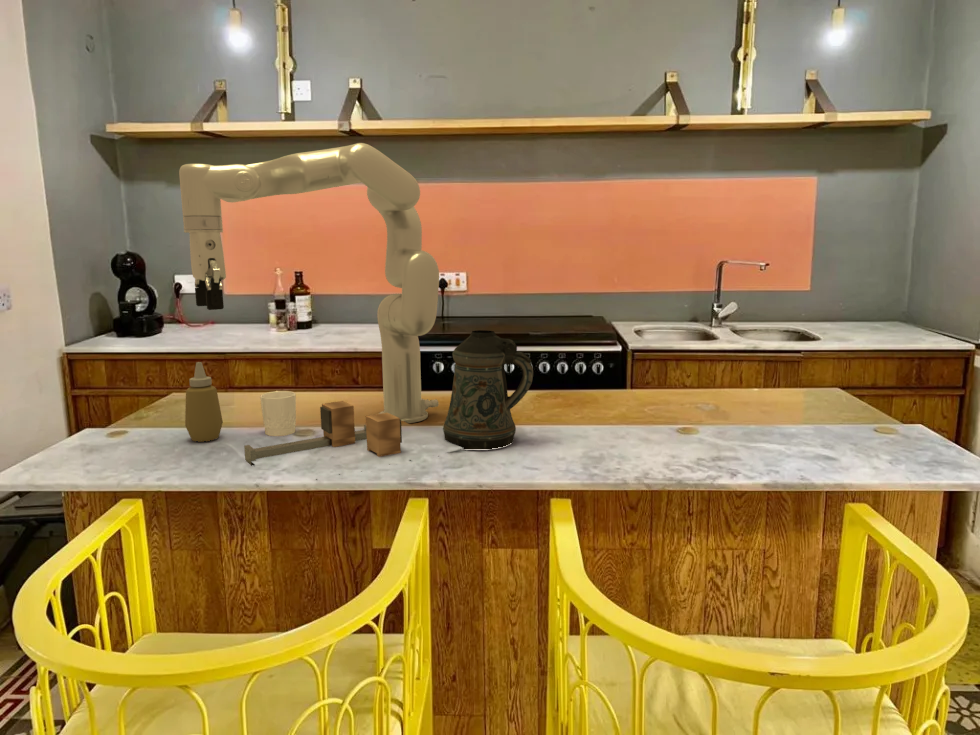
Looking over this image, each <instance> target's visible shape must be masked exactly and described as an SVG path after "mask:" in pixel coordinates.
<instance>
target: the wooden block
mask: <svg viewBox="0 0 980 735" xmlns="http://www.w3.org/2000/svg"><path fill="white" fill-rule="evenodd" d="M319 410H320V428H321V430H322V432H323V437H325V436H327V437H328V438H330V439H332V445H331V446H332V447H333V448H336V447H337V448H338V447H343V446H347V445H354V444H356V441H355V431H356V429H355V408H354V405H353V404H351V403H349V402H347V401H344V400H340V401H333V402H325V403H321V406H320V407H319Z"/></svg>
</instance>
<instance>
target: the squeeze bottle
mask: <svg viewBox="0 0 980 735" xmlns="http://www.w3.org/2000/svg"><path fill="white" fill-rule="evenodd" d="M202 362H203V361H198V362H197V361H196V362H195V367H194V368H195V369H194V374H193V375H194V376H193V377H191V378H188V379H189V380H188V381H189V387H188V388H187V389H186V390H185V412H184V413H185V415H184V420H185V422H184V424H185V425H184V426H185V428H186V430H187V432H188V435H189V436H190V440H191V441H192V442H196V441H198V442H201V443H203V442H204V441H206V442H210V440H211V441H215V440H217V439H219V437H220V434H221V430H222V426H223V423H224V422H223V415H222V411H221V406H220V400H219V396H218V388H216V387H215V386H214V385H212V384H213V383H212V382H213V381H212V377H211V376H207V374H206V372H205V368H204V366H203V363H202ZM214 439H215V440H214Z"/></svg>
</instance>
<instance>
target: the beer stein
mask: <svg viewBox="0 0 980 735" xmlns="http://www.w3.org/2000/svg"><path fill="white" fill-rule="evenodd" d="M517 350H518V346H517V344H516V343H515V341H514V340H513V339H510V338H503V337H500V336H498V335H497V334H496V332H495V331H493V330H483V329H482V330H481V329H480V330H472V331H471V333H470V334H469V336H468V337H467V338H465V339H464V340H463V341H462V342H460V344H458V345H457V346H456V347H455V348H454V349H453V351H452V354H451V355H452V359H453V362H454V372H453V373H454V375H453V382H452V391H451V395H450V396H451V397H450V402H449V407H448V410H447V415H446V418H445V420H444V422H443V425H442V431H443V436H444V441H446V442H448V443H451V444H453V445H456V446H458V447H460V448H461V449H492V448H498V447H503V446H506V445H508V444H510V443H512V442H513V443H514V440H513V439H515V434H516V431H517V429H516V423H515V421H514V419H513V416H512V413H511V410H512V408H514V407H515V406H516V405H517V404H518V403H519V402H520V401H521V400H522V399H523V398H524V397H525V395H526V394H527V393H528V391H529V389H530V388H531V385H532V383H533V379H534V378H533V377H534V367H533V364H532V360H531V358H529V357H528V356H527V355H526V353H523V352H521V351H517ZM505 365H506V366H507V365H510V366H511V365H512V366H513V365H514V366H516V367H518V368H519V369H520V370H521V374H522V378H521V380H520V382H519V384H518V386H517V388H516V389H515V390H514V391H513V392H512V393H511V395H510V396H509V395H508V384H507V376H506V371H505V370H506V369H505ZM513 443H512V444H513Z"/></svg>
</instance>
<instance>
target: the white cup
mask: <svg viewBox="0 0 980 735" xmlns="http://www.w3.org/2000/svg"><path fill="white" fill-rule="evenodd" d="M296 396H297V394H296V392H294V391H291V390H276V391H275V390H274V391H269V392H265V393H262V394H260V397H259V398H260V404H261V405H260V406H261V414H262V422H263V426H264V432H265V433H264V434H265V435H266V436H270V437H284V436H288V435H293V434H294V433H295V432H296V422H297V409H296V408H297V407H296V406H297V400H296V399H297V398H296Z"/></svg>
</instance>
